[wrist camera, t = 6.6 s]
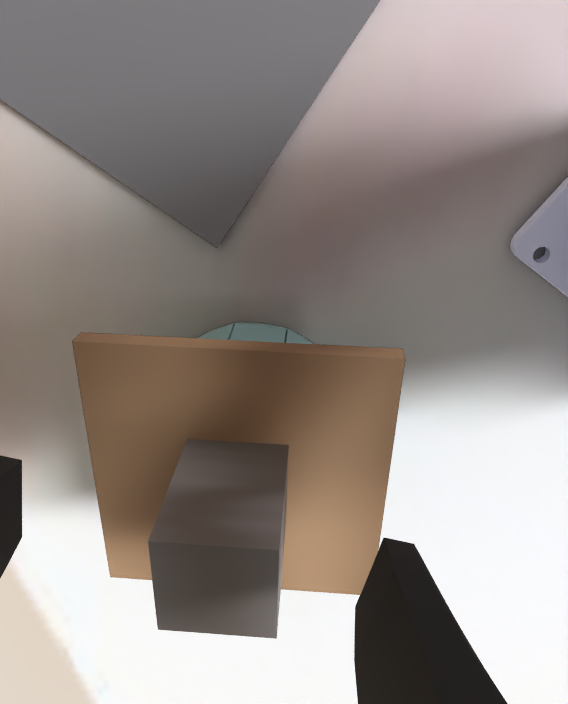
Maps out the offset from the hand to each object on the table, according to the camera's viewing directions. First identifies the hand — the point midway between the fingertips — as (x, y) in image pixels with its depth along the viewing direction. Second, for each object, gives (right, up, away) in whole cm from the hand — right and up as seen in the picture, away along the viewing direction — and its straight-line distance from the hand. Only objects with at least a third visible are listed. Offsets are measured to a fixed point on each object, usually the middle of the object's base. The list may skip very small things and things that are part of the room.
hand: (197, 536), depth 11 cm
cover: (0, 0, +6) cm, 6 cm away
